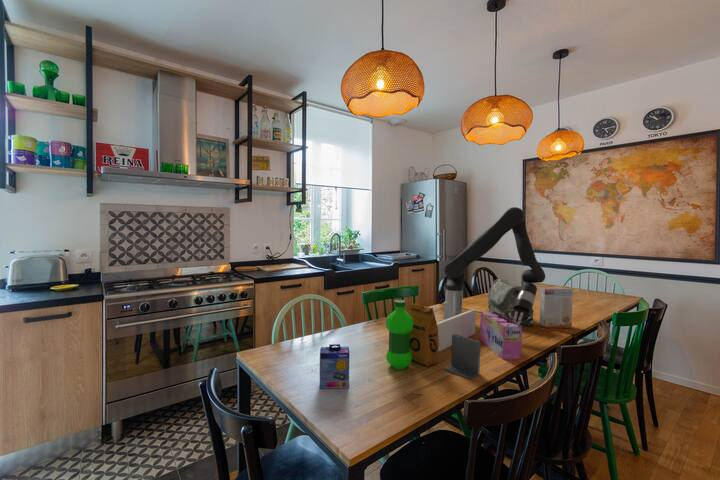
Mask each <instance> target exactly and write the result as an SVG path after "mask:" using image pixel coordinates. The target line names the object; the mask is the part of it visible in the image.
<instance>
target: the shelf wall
mask: <svg viewBox="0 0 720 480" xmlns="http://www.w3.org/2000/svg"><path fill="white" fill-rule="evenodd" d="M476 316H477V309H474V308H472V309H470V310H467V311H464V312H462V313H461V314H459V315H456V316H453V317H451V318H448V319H442V320H441V321H437V326H438V339H439V349H438V353H439V352H441V351H443V350H445V349H447V348H449V347H452V335H453V334H455V335H459V336H463V337H466V338H469V337H471V336H473V335H475V334H476V323H477V322H476V319H477V318H476Z"/></svg>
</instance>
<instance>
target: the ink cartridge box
mask: <svg viewBox="0 0 720 480" xmlns="http://www.w3.org/2000/svg"><path fill="white" fill-rule="evenodd" d="M349 388H350V347H349V346H341V343H337V344H332V343H331V344H329V346H322V347H320V351H319V389H320V390H322V389H325V390H326V389H349Z"/></svg>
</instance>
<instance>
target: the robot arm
mask: <svg viewBox="0 0 720 480" xmlns="http://www.w3.org/2000/svg"><path fill="white" fill-rule="evenodd" d="M501 215H502V216H500V217H499V219H498V220H497V221H495V223H494V224H492V225H491V226H490V227H488V228H487V229H485V230H484V231H483V232H482V233H480V234H479V235H478V236H477V237H476V238H475V239H473V240H472V242H471V243H470V244H469V245H467V246H466V247H465V248H464V249H463V251H462V252H461V253H460V254H459V255H457V256H456V257H455V258H453V259H452V260H451V261H449V262H447V263H446V265H445V267H444V269H443V270H444V274H445V275H446V277H447V281H446V284H445V301H444V302H443V320H446V319H448V318H451V317H453V316H456V315H459V314H461V313H463V299H464V298H463V292H464V291H463V289H464V283H465V269H466V268H467V267H468V266H469V265H471V264H472V263H474V262H475V261H477V260H478V259H480V258H481V257H483V256H485V255H486V254H487V253H488V252H489V251H491V249H493V247H495V245H496V244H497V243H499V241H500V240H501V239H502V237H504V236H505V235H506V234H507V233H508V232H509V231H511V230H512V233H513V236H514V239H515V246H516V249H517V253H518V256H519V260H520V263H521V265H523V266H526V267H529V268H530V269H526V270H523V272H522V273H521V276H520V277H521V279H520V280H521V283H520V284H521V286H520V287H521V289H520V292H519V294H518V296H517V299H516V302H515V304H514V307H513V310H512V311H511V313H505V314H506V317H507V318H508V319H510V320H511V315H512V316H513V318H514V322H515V323H517V324H519V325H521V326H522V329H526V328H527V327H529V325H530V324H532V323H533V324H534V323H535V320H534V317H533V318H531V317H530V313H531V310H532V309H533V306H534V303H535V297H536V294H537V291H538V287H537V285H535V284H539V283H543V282H544V281H545V279H546V273H545V271H544V269H543V268H542V266H541V265H540V263H539V262H538V260H537V257H536V255H535V252H534V249H533V246H532V242H531V240H530V238H529V234H528V231H527V225H526V219H525V212H524V211H523V209H522V208H519V207H517V206H516V207H515V206H513V207H509V208H507V210H506V211H505V212H504V213H503V214H501ZM524 321H525V322H524ZM530 326H531V325H530Z"/></svg>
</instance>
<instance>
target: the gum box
mask: <svg viewBox="0 0 720 480" xmlns="http://www.w3.org/2000/svg"><path fill="white" fill-rule="evenodd" d="M479 318H480V320H479V321H480V322H479V324H480V325H479V341H480V342H482V343H483V344H484V345H485V346H486V347H488V349H490V350H491V351H492V352H493V353H495V354H496V355H497V356H498V357H499V358H501V359H502V360H521V359H522V342H523V341H522V338H523V328H522V326H521V325H519V324H517V323H515V322H514V321H512V320H510V319H508V318H506V317H505V316H503V315H501V314H499V313H497V312H495V311H493V312H492V313H489V311H487V312H483V311H480V317H479Z"/></svg>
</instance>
